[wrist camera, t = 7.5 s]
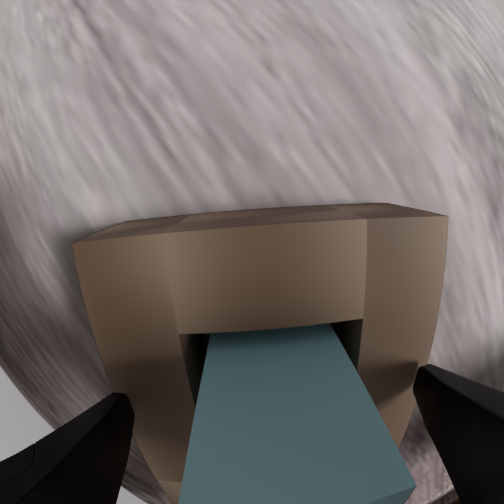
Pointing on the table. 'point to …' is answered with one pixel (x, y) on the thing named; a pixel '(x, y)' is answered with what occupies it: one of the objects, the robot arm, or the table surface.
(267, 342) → the peg
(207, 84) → the table surface
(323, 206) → the block
